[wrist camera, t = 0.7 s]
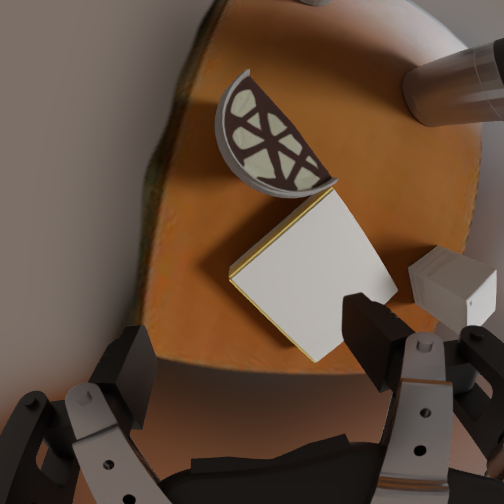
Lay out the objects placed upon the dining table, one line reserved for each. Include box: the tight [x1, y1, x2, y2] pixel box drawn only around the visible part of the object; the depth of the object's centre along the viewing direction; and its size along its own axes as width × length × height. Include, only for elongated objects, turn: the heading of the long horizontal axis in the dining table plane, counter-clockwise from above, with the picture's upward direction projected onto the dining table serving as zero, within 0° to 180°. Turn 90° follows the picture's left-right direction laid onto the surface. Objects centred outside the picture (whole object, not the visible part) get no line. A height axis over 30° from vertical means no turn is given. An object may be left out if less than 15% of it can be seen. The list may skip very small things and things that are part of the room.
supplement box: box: [408, 246, 496, 335], centre depth 30 cm, size 7×7×13 cm
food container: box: [215, 69, 338, 198], centre depth 24 cm, size 12×6×10 cm, turn 40°
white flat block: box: [228, 187, 398, 363], centre depth 31 cm, size 14×16×4 cm
